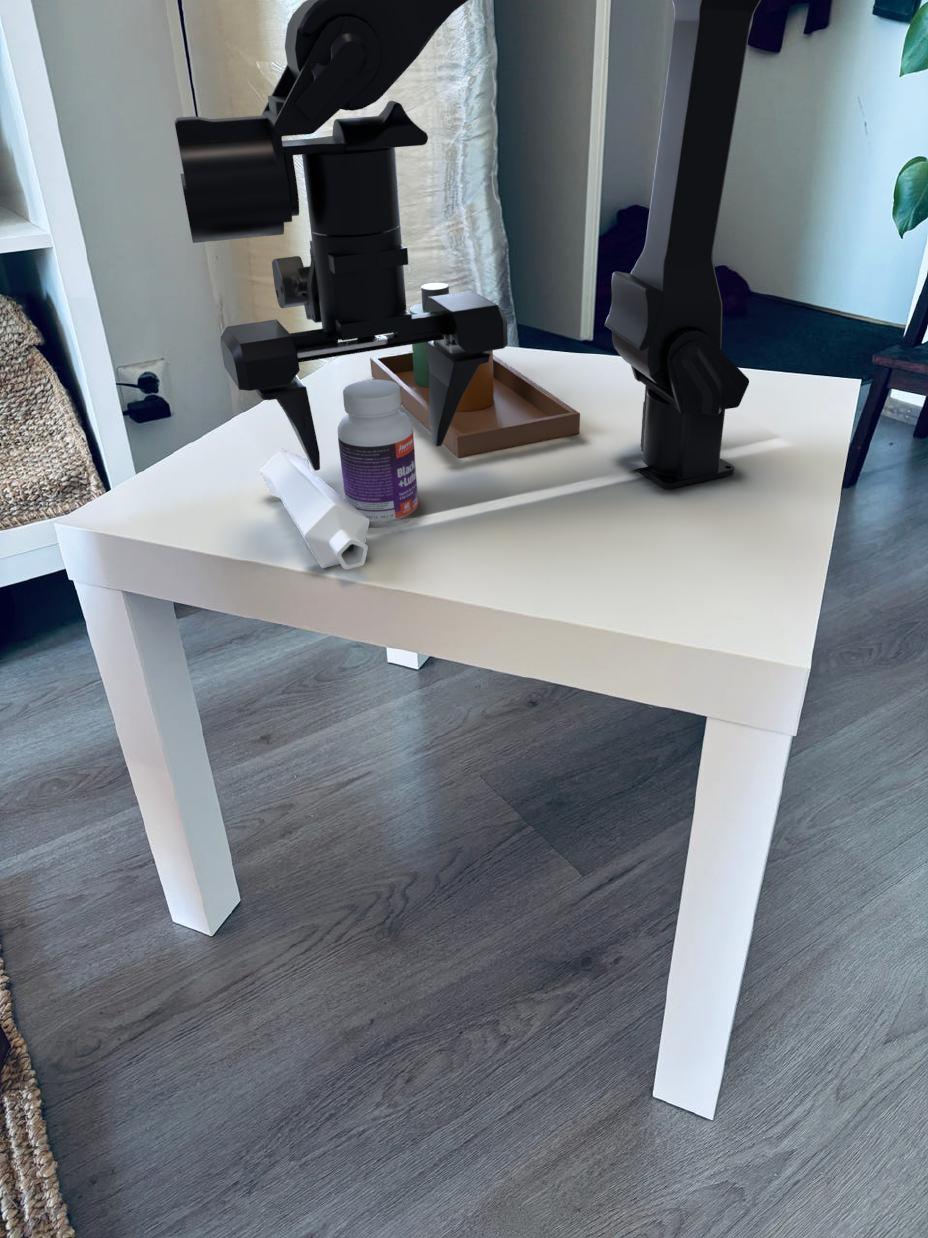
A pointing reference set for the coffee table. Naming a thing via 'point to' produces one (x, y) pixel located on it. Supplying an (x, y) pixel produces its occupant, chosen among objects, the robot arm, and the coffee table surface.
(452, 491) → the coffee table surface
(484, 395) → the amber bottle
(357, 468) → the pill bottle
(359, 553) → the perfume bottle
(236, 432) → the coffee table surface
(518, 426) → the tray
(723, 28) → the robot arm
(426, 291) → the green bottle
